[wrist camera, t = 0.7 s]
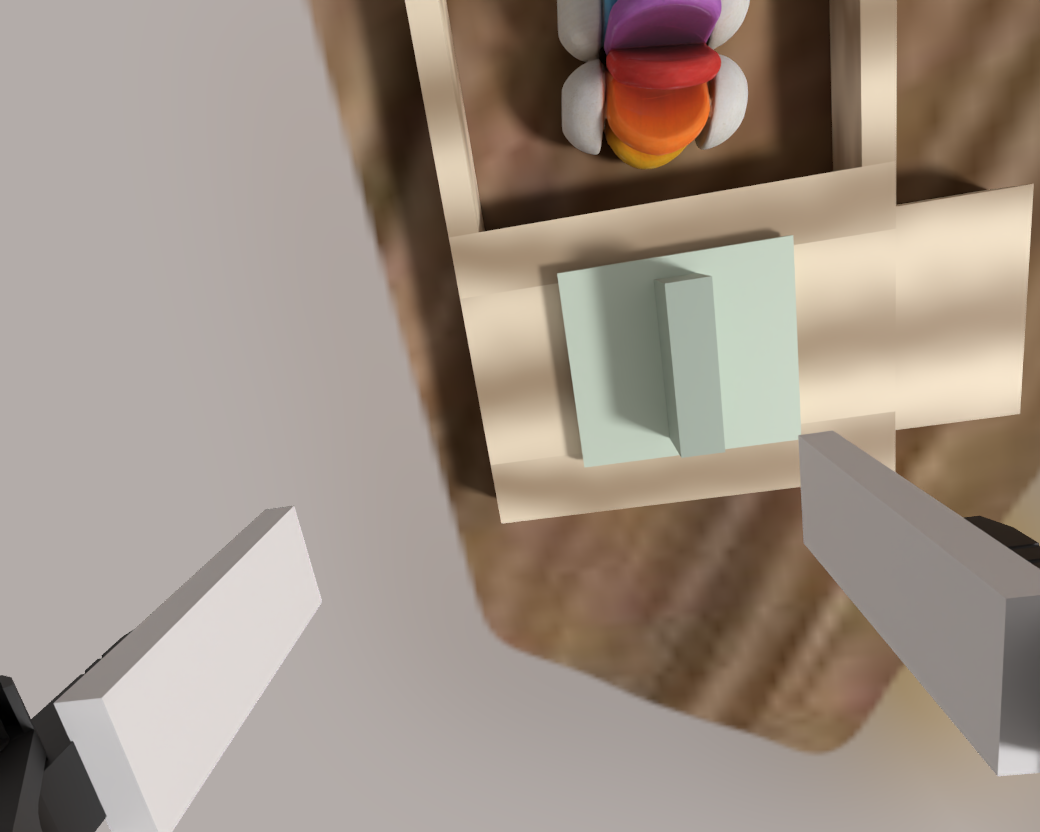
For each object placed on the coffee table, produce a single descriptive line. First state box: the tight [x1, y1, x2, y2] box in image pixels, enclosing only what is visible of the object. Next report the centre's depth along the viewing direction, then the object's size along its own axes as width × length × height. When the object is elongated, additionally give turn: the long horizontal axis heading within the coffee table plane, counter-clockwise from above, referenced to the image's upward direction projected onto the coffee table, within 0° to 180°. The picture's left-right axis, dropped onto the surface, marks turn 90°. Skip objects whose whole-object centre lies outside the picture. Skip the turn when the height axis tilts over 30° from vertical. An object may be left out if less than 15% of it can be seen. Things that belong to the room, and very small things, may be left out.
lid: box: [557, 235, 801, 468], centre depth 29 cm, size 10×11×4 cm
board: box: [405, 0, 1034, 523], centre depth 30 cm, size 30×27×3 cm
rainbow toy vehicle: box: [557, 0, 750, 169], centre depth 26 cm, size 8×10×7 cm
